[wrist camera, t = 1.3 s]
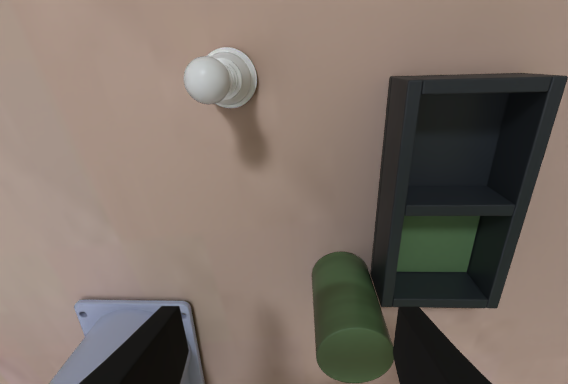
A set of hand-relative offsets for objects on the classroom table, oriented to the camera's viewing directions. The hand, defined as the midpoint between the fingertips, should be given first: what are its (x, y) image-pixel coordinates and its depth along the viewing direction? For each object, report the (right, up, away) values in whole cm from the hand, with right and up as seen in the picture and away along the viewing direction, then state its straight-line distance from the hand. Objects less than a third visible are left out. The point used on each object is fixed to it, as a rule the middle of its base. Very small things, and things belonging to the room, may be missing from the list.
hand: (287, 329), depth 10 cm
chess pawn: (-3, +10, +6) cm, 12 cm away
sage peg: (+3, -1, +10) cm, 10 cm away
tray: (+8, +5, +7) cm, 12 cm away
